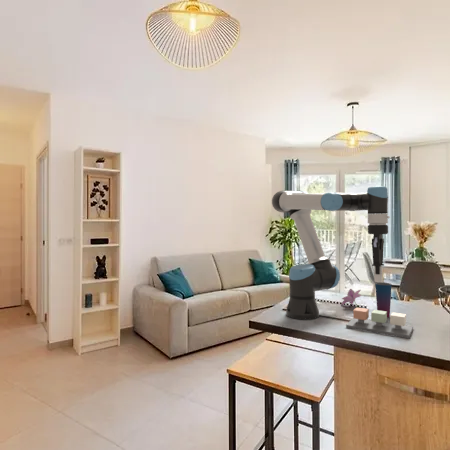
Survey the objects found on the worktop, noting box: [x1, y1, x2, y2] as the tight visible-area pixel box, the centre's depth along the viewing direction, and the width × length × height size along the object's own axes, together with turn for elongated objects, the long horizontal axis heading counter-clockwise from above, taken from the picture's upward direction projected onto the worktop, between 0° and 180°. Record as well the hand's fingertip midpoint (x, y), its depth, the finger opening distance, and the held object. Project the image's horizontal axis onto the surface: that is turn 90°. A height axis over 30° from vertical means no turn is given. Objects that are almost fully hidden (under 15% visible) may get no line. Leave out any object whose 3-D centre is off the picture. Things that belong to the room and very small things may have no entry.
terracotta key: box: [352, 306, 370, 320], centre depth 139 cm, size 5×5×4 cm
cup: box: [374, 281, 393, 319], centre depth 151 cm, size 7×7×15 cm
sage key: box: [370, 309, 388, 323], centre depth 135 cm, size 5×5×4 cm
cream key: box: [389, 311, 407, 326], centre depth 131 cm, size 5×5×4 cm
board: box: [345, 317, 414, 339], centre depth 135 cm, size 23×13×3 cm, turn 55°
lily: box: [340, 288, 362, 308], centre depth 168 cm, size 12×12×10 cm
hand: (378, 281), depth 135 cm, fingers closed
